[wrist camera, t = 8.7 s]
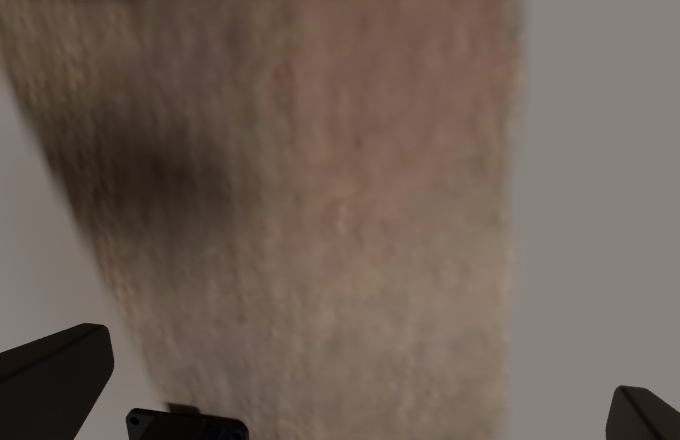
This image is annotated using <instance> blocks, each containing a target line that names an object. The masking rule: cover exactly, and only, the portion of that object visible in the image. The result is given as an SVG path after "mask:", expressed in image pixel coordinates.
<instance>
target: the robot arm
mask: <svg viewBox="0 0 680 440" xmlns="http://www.w3.org/2000/svg"><path fill="white" fill-rule="evenodd" d="M113 369H114V356H113V351H112V345H111V340H110V333H109V330H108V328H107V327H106V326H104V325H100V324H92V323H83V324H80V325H77V326H74V327H72V328H69V329H66V330H63V331H60V332H57V333H55V334H52V335H49V336H47V337H43V338H41V339H38V340H35V341H32V342H30V343H27V344H24V345H21V346H19V347H16V348H13V349H10V350H7V351H5V352H2V353H0V440H74V438H75V436H76V435H77V433H78V431H79V430H80V428H81V426H82V425H83V423H84V421H85V420H86V418H87V416H88V414H89V413H90V411H91V409H92V408H93V406H94V404H95V403H96V401H97V399H98V397H99V396H100V394H101V392H102V390H103V389H104V387H105V385H106V384H107V382H108V380H109V378H110V377H111V375H112V372H113ZM126 424H127V430H128V435H129V440H249V431H248V428H247V427H246V426H245V425H243V424H241V423H238V422H231V421H224V420H217V419H210V418H203V417H196V416H189V415H182V414H175V413H168V412H161V411H154V410H147V409H140V408H134V409H132V410H131V411H130V412H129V414H128V415H127V416H126ZM236 432H237V433H239V434H240V435H239V434H237V433H236ZM606 440H680V413H679V412H678V411H677V410H675V409H674V408H673V407H671V406H670V405H669V404H667V403H666V402H664V401H663V400H662V399H660V398H659V397H657V396H656V395H655V394H653V393H652V392H651V391H649V390H648V389H645V388H641V387H632V386H624V385H621V386H619V387H617V388H616V390H615V391H614V395H613V399H612V403H611V407H610V411H609V416H608V420H607V424H606Z"/></svg>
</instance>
